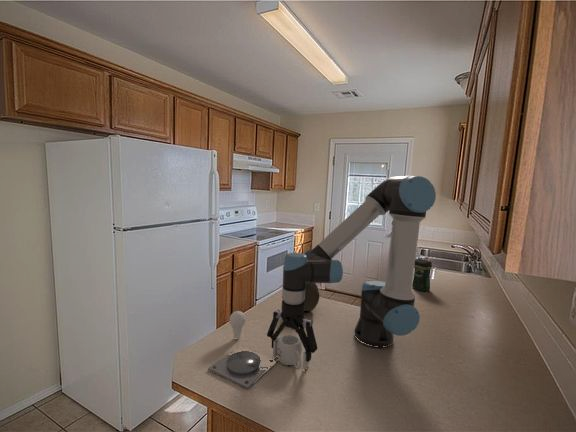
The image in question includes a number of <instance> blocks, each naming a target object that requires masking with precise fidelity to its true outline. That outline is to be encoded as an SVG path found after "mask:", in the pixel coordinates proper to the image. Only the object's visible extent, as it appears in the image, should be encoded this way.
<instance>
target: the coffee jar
mask: <svg viewBox="0 0 576 432" xmlns="http://www.w3.org/2000/svg"><path fill="white" fill-rule="evenodd" d="M432 268H433V264H432V261H431V260H426V259H422V258H415V264H414V272H413V280H412V289H414V290H417V291H420V292H429V291H430V290H431V270H432Z"/></svg>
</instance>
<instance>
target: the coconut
mask: <svg viewBox="0 0 576 432" xmlns="http://www.w3.org/2000/svg"><path fill="white" fill-rule="evenodd" d="M319 301H320V291H319V286H318V284H317V283H306V285H305V300H304V302H305V305H304V311H310V312H312V311H314V310H315V309H316V307H317V305H319Z"/></svg>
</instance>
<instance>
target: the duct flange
mask: <svg viewBox="0 0 576 432" xmlns="http://www.w3.org/2000/svg"><path fill="white" fill-rule="evenodd" d="M269 361H270V362H273V360H269ZM260 363H261V360H260V357H259V356H258V355H257V354H255V353H253V352H249V351H241V352H237V353H234V354H232V355H228V354H226V355H225V356H223V357H222V358H220V359H219V360H218V361H215V363H213V364H212V365H210V366H209V367H207V371H208V370H210V371H212V372H214V373H216V374H218V375H220V376H222V377H224V378H225V379H224V378H223V379H224V380H226V379H228V380H230V381H229V382H231V381H232V382H231V383H233V382H234V383H233V384H235V383H236V384H235V385H237V384H238V385H237V386H239V385H240V386H239V387H241V386H242V387H241V388H243V387H244V388H243V389H245V388H246V389H245V390H247V389H248V388H249V387H250V386H251V385H252V384H253V383H254V382H255V381H256V380H257V379H258V378H259V377H260V376H261V375H262V374H263V373H264V372H265V371H266V370H260V368H262V369H263V368H267V369H268V367H261V366H260ZM270 367H271V366H270ZM210 371H209V372H210ZM212 372H211V373H212ZM214 373H213V374H214ZM216 374H215V375H216ZM218 375H217V376H218ZM220 376H219V377H220ZM222 377H221V378H222ZM228 380H227V381H228ZM254 384H255V383H254ZM254 384H253V385H254ZM253 385H252V386H253ZM252 386H251V387H252ZM251 387H250V388H251ZM250 388H249V389H250ZM249 389H248V390H249Z"/></svg>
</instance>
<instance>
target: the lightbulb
mask: <svg viewBox="0 0 576 432" xmlns="http://www.w3.org/2000/svg"><path fill="white" fill-rule="evenodd" d="M228 320H229V323H230V325H231V328H232V333H233V338H234V339H235V338H239V337H240V338H241V335H242V334H241V333H242V330H243V327H244V325H245V323H246V315H245V313H243V312H242V311H241V310H236V311H233V312H232V313H231V315H229V319H228ZM240 338H239V339H240Z"/></svg>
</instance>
